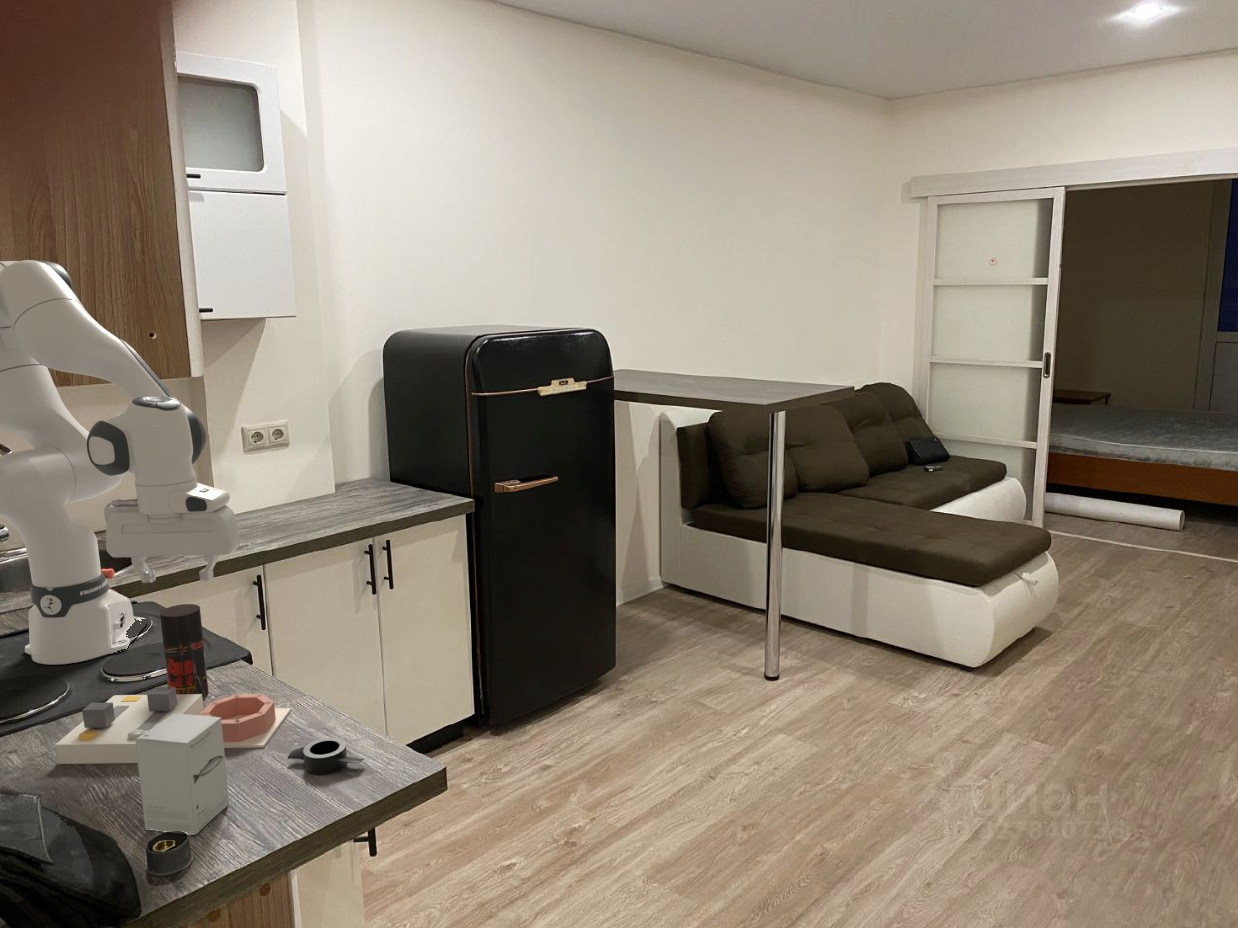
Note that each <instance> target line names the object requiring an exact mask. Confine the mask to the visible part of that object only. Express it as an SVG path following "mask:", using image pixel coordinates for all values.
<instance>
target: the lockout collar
mask: <svg viewBox="0 0 1238 928" xmlns="http://www.w3.org/2000/svg"><path fill="white" fill-rule="evenodd" d="M275 706H276V705H275V701H274V700H272V699H270V698H269V697H267V696H266V695H265V694H263V693H244V694H243V693H242V694H241V693H238V694H233V695H230V696H227V697H224V698H221V699H218V700H214V701H211V702H210V703H209V704H208V705H207V706H205V708H203V709H204V710H203V711H202V712H201V713H200V714H199V715H200V716H212V717H221V722H222V732H223V743H224V749H250V748H252V749H253V748H254V749H255V748H257V749H260V748H263V749H264V748H265V746H266V745H267V744H268V743H269V741H270V740H271V739H272V737H273V736H274V734H275V733H276V732H277V730H279V727H280V726H281V725H282V724H283V722H284V721H285V719H286V718H287V717H288V716H289V715H290V713H291V712H292V708H291V707H290V708H289V707H283V708H282V707H276V708H275Z"/></svg>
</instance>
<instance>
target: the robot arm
mask: <svg viewBox="0 0 1238 928" xmlns="http://www.w3.org/2000/svg"><path fill="white" fill-rule="evenodd" d="M49 369H51V370H53V371H59V372H61V373H62V372H63V373H71V374H77V375H83V376H89V377H93V378H98V379H101V380H105V381H107V382H108V383H112V384H114V385H115V386H117V387H118V388H119V389H121V390H122V391H123V392H124V393H125V394H126V395H127V397H128V398H129V399H130V401H129V403H128V404H127V407H126V408H125V409H124V410H121V411H120V412H119V413H117V414H115V415H113V416H110V417H107V418H104V419H102V420H97V422H95V423H94V424H93V425H92V427H91V429H90V430H89V431H88V430H87V429H86V428H85V427H83V425H82V424H80V423H79V422H78V420H77V419H76V418H75V417H74V416H73V415H72V413H71V412H70V411H69V410H68V408H67V407H66V405H65V403H64V402H63V400H62V398H61V395H60V394H59V391H58V389H57V387H56V385H55V383H54V381H53V378H52V376H51V372H50V371H49ZM204 426H205V425H204V424H203V422H202V420H200V418H199V417H198V416H197V415H196V414H195V413H194V412H193V411H192V410H191V409H189V408H188V407H187V406H185V405H184V403H182V402H181V401H180V400H178V399H177V397H176V396H175V394H173V393H172V392H171V391H170V389H169V388H168V387H167V386H166V385H165V383H164V382H163V381H162V380H161V379H160V378H159V377H158V375H157V374H156V373H155V372H154V371H153V370H152V369H151V367H150V365H148V363H146V361H145V360H144V359H143V358H142V357H141V355H140V354H138V353H137V351H136V350H135V349H134V348H133V347H132V346H131V345H130V344H129V343H127V342H126V341H125V340H123V339H121V338H119V337H117V336H116V335H114V334H112V333H111V332H110V331H108V330H107V329H106V328H104V327H103V326H102V325H101V324H100V323H99V322H97V321H96V320H95V319H94V318H93V317H92V316H91V314H90V313H89V312H88V311H87V310H86V309H85V307H84V305H83V304H82V303H81V301H80V299H79V298H78V296H77V295H76V293H75V287H74V284H73V281H72V279H71V276H70V274H69V273H68V272H67V271H66V270H65V269H64V267H63V266H61V265H60V264H59V263H56V262H53V261H52V262H51V261H46V260H37V259H36V260H33V259H31V260H30V259H25V260H24V259H23V260H2V261H1V260H0V429H1V430H3V431H5V432H8V433H11V434H14V435H17V436H20V437H21V438H22V439H24V440H25V441H27V442H28V443H29V444H30V445H31V446H32V448H31V449H25V450H20V451H19V450H18V451H14V452H9V453H7V454H4V455H1V456H0V517H1V518H3V519H5V520H6V521H7V522H8V523H10V525H12V526H13V527H14V529H15V530H16V531H17V532H18V534H19V535H20V537H21V539H22V542H23V544H24V547H25V550H26V554H27V559H28V565H29V571H30V577H31V582H30V584H29V596H30V599H31V604H33V606H31V607H30V609H29V610H28V632H29V633H28V635H29V636H28V637H29V640H28V641H29V643H28V644H27V645H25V646H24V653H25V654H27V655H30V656H31V660H32V661H33V662H35V663H37V664H41V665H67V664H72V663H73V664H75V663H79V662H84V661H88V660H93V659H96V658H100V657H103V656H106V655H108V654H114V652H115V653H118V652H117V651H118V650H121V649H126V650H128V649H129V648H128V646H129V644H130V639H129V638H128V637H126V636H128V635H126V633H127V632H126V631H127V630H128V629H129V628H130V626H132V624H133V623H134V622H135V620H134V619H136V620H139V621H142V620H141V619H146V618H145V617H142V616H141V617H140V616H134V611H133V605H132V602H131V600H130V599H129V598H128V597H127V596H123V595H122V594H120V593H118V592H116V591H114V590H113V589H110V586H109V583H108V580H113V579H114V577H115V570H114V569H113V568H102V567H101V561H100V554H99V552H100V551H99V545H98V538H97V536H96V534H95V533H94V531H93V530H91V529H90V528H88V527H87V526H85V525H82V524H79V523H76V522H73V521H72V520H70V518H69V515H68V513H67V509H66V508H67V507H66V505H69V504H73V503H76V502H80V501H85V500H89V499H93V498H96V497H99V496H102V495H104V494H106V493H107V492H109V491H111V490H113V489H116V488H117V487H118V486H119V485H120V484H121V483H122V481H123V478H124V477H125V476H130V475H134V477H135V478H134V479H135V480H134V484H135V485H134V487H135V494H136V495H135V496H136V498H131V499H129V498H128V499H121V498H120V499H118V498H117V499H114V500H111V502H108V503H107V504H106V505H105V507H104V510H103V515H104V521H105V523H106V526H105V527H106V528H105V547H106V552H107V553H108V554H109V555H110V557H112V558H130V559H131V564H132V565H133V567H134V568H135V569H136V571H138V573H139V574H140V579H141V583H142V584H147V583H149V584H150V583H153V582H155V581H156V575H155V574H156V570H155V569H150V568H149V566H148V564H147V563H146V560H147V559H148V558H149V557H185V556H186V557H189V556H203V558H204V559H203V560H204V562H207V564H206V566H205V567H204V568H203V569H201V570H200V571H199V572H198V575H199V580H200V582H211V581H212V580H213V579H214V568H215V566H216V564H217V561H218V560H219V556H222V555H223V556H224V555H225V556H226V555H227V556H228V555H230V554H232V553H233V552H235V551H236V550H237V549H238V548H239V545H240V543H241V541H240V540H241V539H240V532H239V526H238V522H237V518H236V514H235V513H234V511H233V509H232V508H231V507H230V506H228V505H227V504H228V503H229V502H230V494H229V492H228V491H227V490H225V489H221V488H216V487H213V486H209V485H207V484H204V483H200V482H198V481H197V473H196V471H195V470H194V467H193V464H195V463H196V462H197V461H198V460H199V458H200V457H201V455H202V453H203V452H204V449H205V447H206V443H207V433H206V432H207V431H206V429H205V427H204ZM140 624H141V623H140ZM119 641H127V642H124V643H121V644H119V643H118V642H119ZM129 647H130V646H129ZM127 648H128V649H127Z"/></svg>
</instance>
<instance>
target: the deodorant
mask: <svg viewBox="0 0 1238 928" xmlns="http://www.w3.org/2000/svg"><path fill="white" fill-rule="evenodd" d="M159 615H160V624H161V625H160V626H161V633H162V641H163V642H162V644H163V651H164V660H165V668H166V669H165V671H166V678H167V679H166V680H167V685H168V687H176V695H177V694H202V699H205V698H206V697H207V696H208V695H209V683H208V674H207V665H206V663H207V661H206V654H205V645H204V635H203V625H202V615H201V606H199V605H198V604H193V603H183V604H175V605H172V606H169V607H166V608H164V609H162V610H161V611H160V612H159Z"/></svg>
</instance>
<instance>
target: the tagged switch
mask: <svg viewBox="0 0 1238 928" xmlns="http://www.w3.org/2000/svg"><path fill="white" fill-rule="evenodd" d="M81 711H82V718H83V719H82V721H84V727H85V728H106V727H108V726H109V725H110V724H111V723H112V722H113V721H114V720H115V716H114V708H113V703H105V702H90V703H89V704H88V705H87V706H85V708H83V709H82V710H81Z"/></svg>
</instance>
